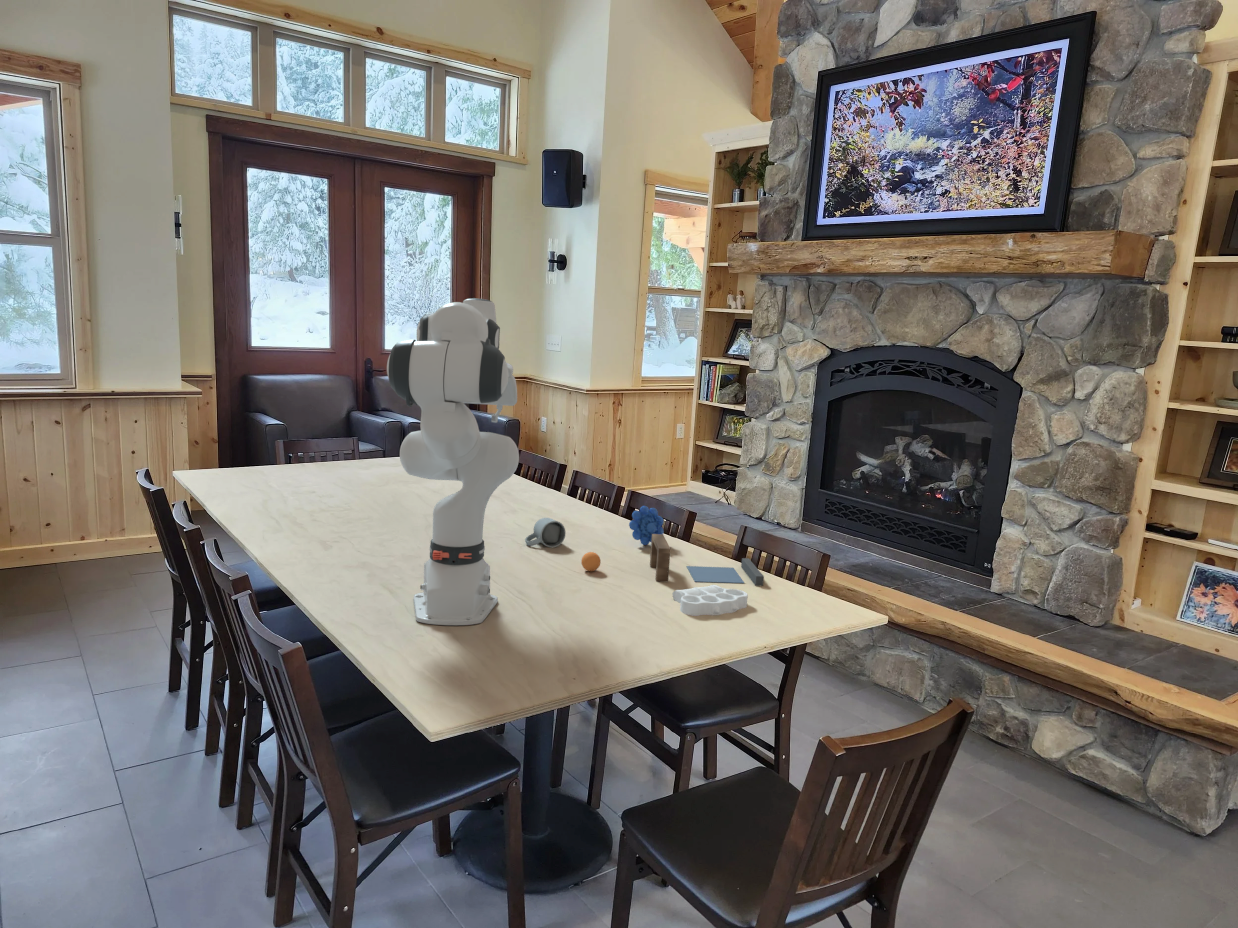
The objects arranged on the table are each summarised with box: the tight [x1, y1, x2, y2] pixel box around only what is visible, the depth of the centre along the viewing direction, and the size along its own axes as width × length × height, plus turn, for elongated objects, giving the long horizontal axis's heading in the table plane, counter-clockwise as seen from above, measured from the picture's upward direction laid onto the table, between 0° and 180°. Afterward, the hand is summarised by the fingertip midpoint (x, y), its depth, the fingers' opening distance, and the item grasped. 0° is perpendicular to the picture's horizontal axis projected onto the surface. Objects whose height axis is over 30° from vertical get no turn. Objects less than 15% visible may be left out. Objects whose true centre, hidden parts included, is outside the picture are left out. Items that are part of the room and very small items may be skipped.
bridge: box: [649, 533, 671, 583], centre depth 219 cm, size 3×14×9 cm, turn 5°
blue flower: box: [628, 505, 665, 546], centre depth 244 cm, size 12×7×12 cm, turn 117°
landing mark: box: [686, 565, 745, 584], centre depth 221 cm, size 13×13×1 cm
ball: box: [581, 551, 602, 572], centre depth 218 cm, size 5×5×5 cm
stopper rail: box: [740, 557, 765, 587], centre depth 222 cm, size 16×2×2 cm, turn 5°
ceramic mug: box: [524, 517, 567, 549], centre depth 240 cm, size 11×8×8 cm
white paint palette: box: [672, 584, 749, 617], centre depth 197 cm, size 3×18×15 cm
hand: (475, 420), depth 207 cm, fingers open, 8 cm apart
